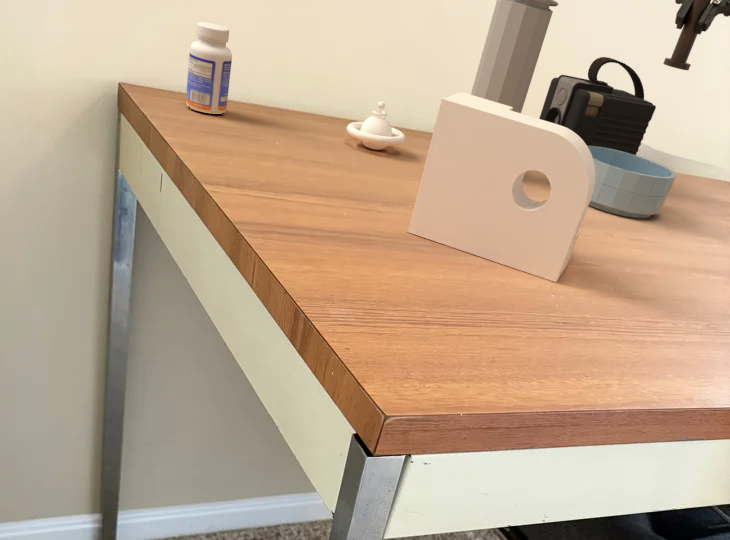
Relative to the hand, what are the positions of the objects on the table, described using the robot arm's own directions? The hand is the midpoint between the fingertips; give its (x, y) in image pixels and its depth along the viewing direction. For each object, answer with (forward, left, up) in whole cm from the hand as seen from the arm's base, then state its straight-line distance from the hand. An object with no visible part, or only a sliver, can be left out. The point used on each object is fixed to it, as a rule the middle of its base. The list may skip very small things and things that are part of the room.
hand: (689, 26), depth 124 cm
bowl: (+22, +19, -20) cm, 36 cm away
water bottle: (+36, +6, -21) cm, 42 cm away
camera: (+16, +3, -21) cm, 26 cm away
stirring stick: (-2, -1, -5) cm, 6 cm away
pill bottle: (+71, -9, -21) cm, 75 cm away
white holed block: (+55, +36, -21) cm, 69 cm away
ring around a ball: (+51, +2, -21) cm, 55 cm away
